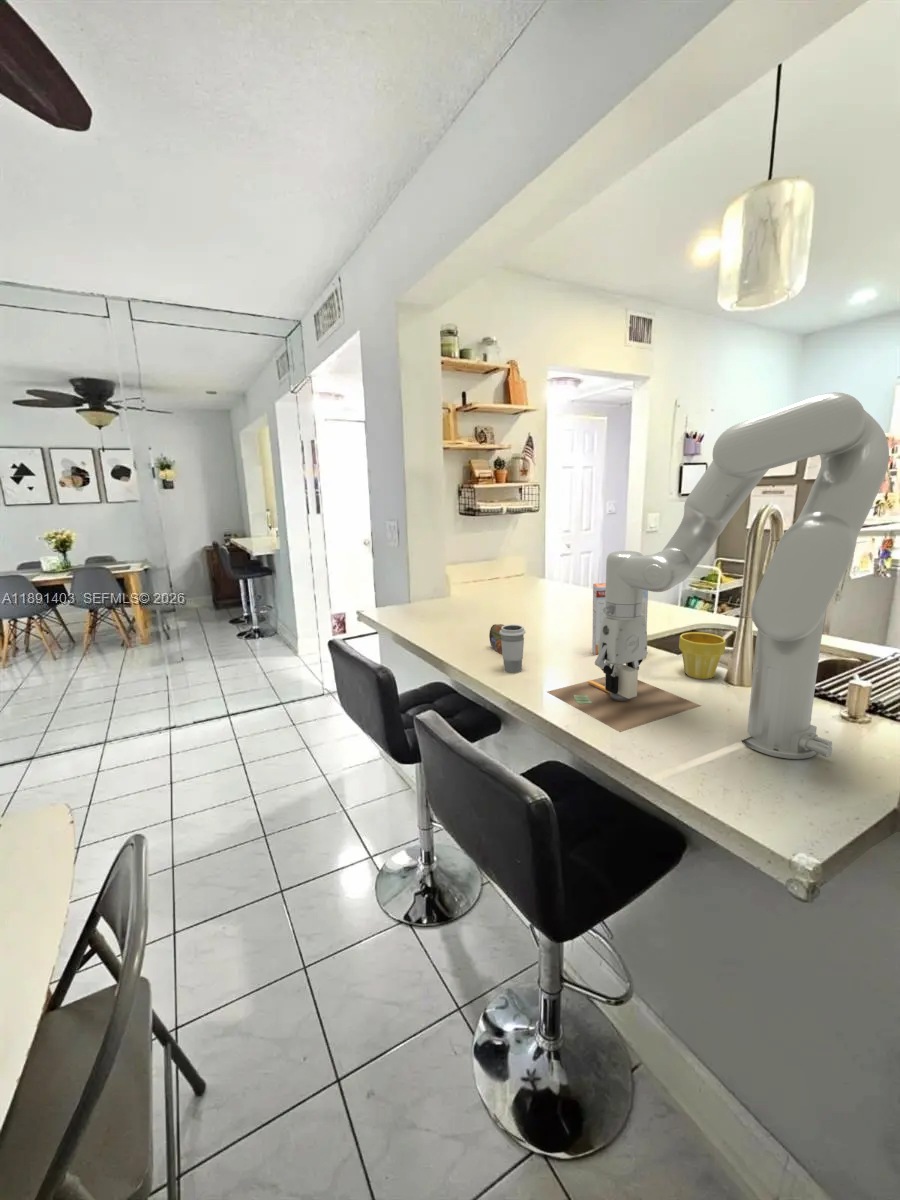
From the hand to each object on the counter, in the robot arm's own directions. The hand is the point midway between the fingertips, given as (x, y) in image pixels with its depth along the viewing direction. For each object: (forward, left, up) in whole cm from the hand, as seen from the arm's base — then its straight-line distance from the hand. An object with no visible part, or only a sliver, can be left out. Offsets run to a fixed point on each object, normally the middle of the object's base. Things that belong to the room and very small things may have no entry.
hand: (620, 688), depth 111 cm
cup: (+31, +8, -4) cm, 32 cm away
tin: (+44, +2, -4) cm, 44 cm away
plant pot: (+3, -30, -4) cm, 30 cm away
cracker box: (+25, -24, -4) cm, 35 cm away
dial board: (0, 0, -4) cm, 4 cm away
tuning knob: (+3, 0, -2) cm, 4 cm away
